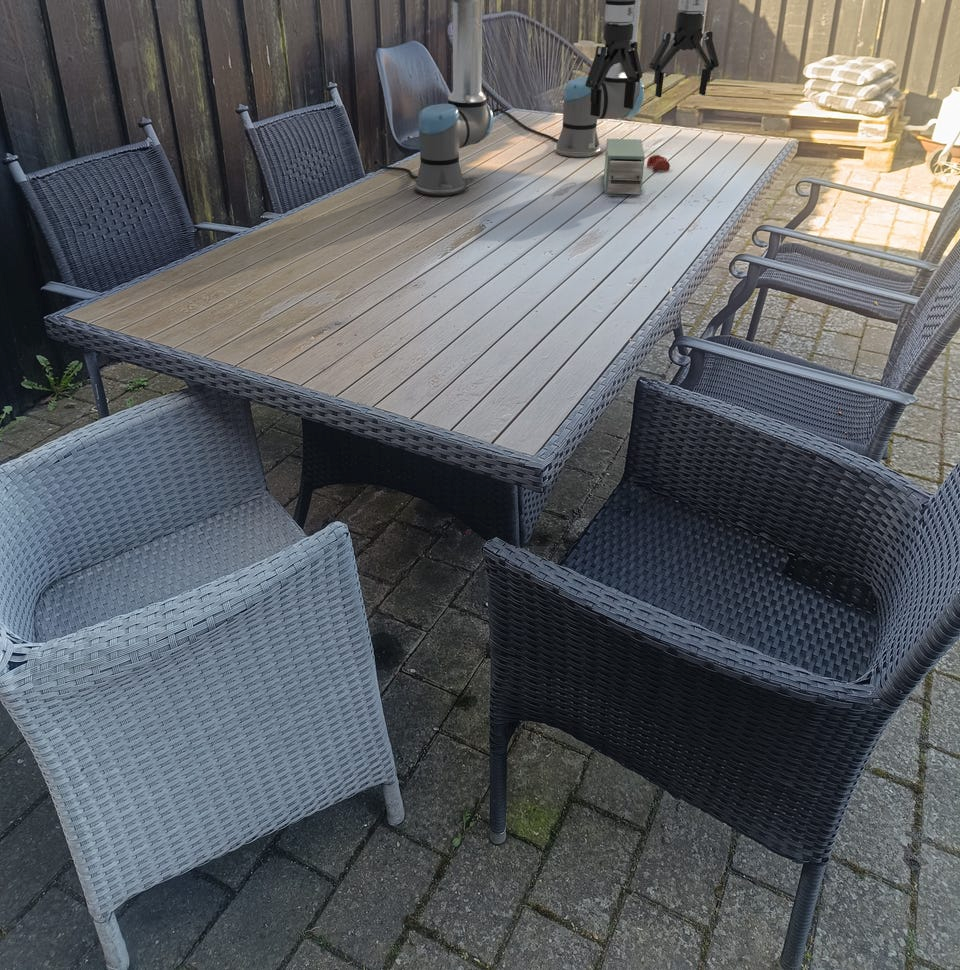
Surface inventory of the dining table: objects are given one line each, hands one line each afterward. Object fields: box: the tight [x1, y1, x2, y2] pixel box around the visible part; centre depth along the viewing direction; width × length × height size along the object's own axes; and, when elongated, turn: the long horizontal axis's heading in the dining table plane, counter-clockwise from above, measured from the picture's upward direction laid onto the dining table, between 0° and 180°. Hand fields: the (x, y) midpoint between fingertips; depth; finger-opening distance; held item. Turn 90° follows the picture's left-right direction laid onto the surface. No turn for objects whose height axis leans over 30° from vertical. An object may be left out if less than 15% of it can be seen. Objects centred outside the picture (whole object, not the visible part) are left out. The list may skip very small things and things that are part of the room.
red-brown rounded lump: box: [646, 154, 671, 172], centre depth 276 cm, size 6×4×8 cm
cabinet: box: [603, 138, 646, 196], centre depth 260 cm, size 20×11×11 cm, turn 174°
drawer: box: [607, 159, 643, 195], centre depth 255 cm, size 24×10×9 cm, turn 174°
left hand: (611, 111), depth 228 cm, fingers open, 13 cm apart
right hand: (680, 95), depth 244 cm, fingers open, 13 cm apart
